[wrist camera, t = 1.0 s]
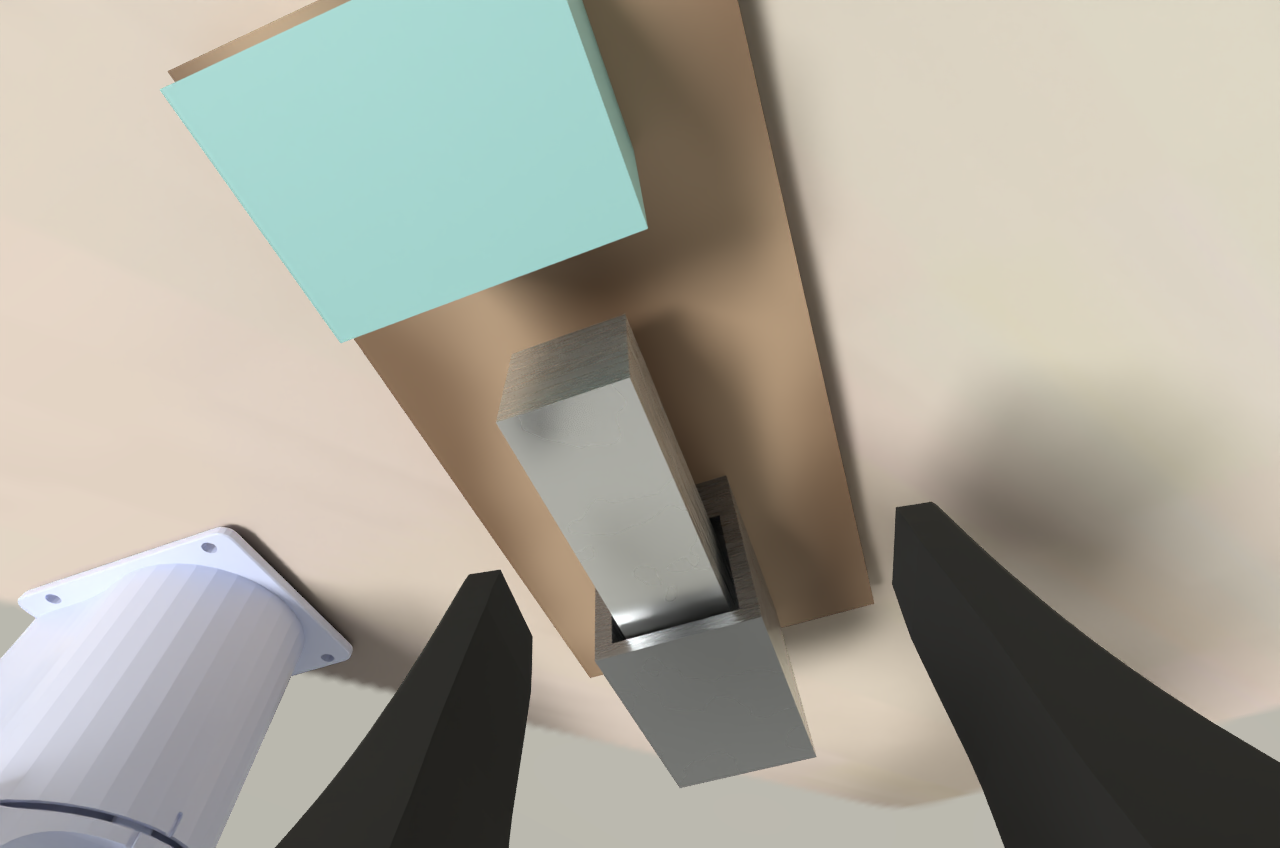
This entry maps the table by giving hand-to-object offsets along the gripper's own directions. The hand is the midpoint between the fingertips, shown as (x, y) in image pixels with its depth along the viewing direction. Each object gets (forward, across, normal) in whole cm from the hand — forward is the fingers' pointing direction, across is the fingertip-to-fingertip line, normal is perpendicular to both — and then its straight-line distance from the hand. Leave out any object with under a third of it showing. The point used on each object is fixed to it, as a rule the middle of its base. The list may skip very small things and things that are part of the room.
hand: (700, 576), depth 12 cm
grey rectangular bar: (+6, +1, +4) cm, 8 cm away
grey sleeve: (+8, +1, +9) cm, 12 cm away
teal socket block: (+8, +3, -7) cm, 11 cm away
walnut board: (+10, +2, +3) cm, 10 cm away
